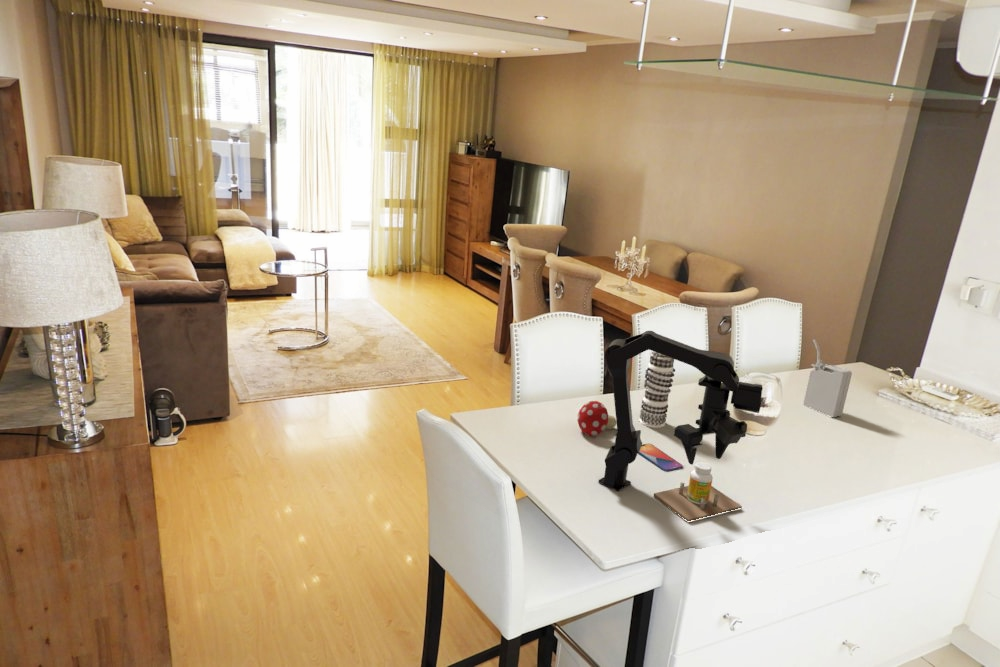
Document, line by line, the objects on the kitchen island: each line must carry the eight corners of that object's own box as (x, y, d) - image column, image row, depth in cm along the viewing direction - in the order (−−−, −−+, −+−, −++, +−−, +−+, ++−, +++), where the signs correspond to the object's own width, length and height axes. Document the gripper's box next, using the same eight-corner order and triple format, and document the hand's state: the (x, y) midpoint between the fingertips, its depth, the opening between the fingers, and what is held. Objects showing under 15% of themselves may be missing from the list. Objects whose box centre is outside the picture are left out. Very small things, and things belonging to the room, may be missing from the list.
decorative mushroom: (618, 399, 214) (589, 391, 204) (633, 427, 207) (604, 421, 197) (594, 418, 219) (565, 412, 209) (608, 447, 213) (578, 441, 203)
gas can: (796, 402, 249) (810, 338, 242) (805, 400, 251) (820, 337, 244) (832, 418, 236) (848, 351, 229) (841, 416, 238) (857, 350, 231)
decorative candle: (669, 429, 215) (681, 356, 208) (640, 427, 215) (651, 354, 208) (663, 418, 224) (674, 347, 217) (635, 415, 224) (646, 345, 217)
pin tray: (687, 523, 162) (690, 508, 161) (653, 496, 173) (655, 483, 172) (741, 509, 170) (744, 495, 169) (705, 485, 181) (707, 472, 180)
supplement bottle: (693, 505, 168) (699, 471, 165) (682, 494, 173) (688, 461, 170) (712, 504, 169) (718, 470, 167) (700, 493, 174) (706, 460, 172)
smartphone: (664, 473, 187) (665, 470, 186) (630, 449, 199) (631, 446, 199) (684, 469, 190) (684, 466, 190) (649, 446, 203) (650, 443, 202)
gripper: (710, 421, 153) (699, 482, 157) (767, 412, 161) (755, 470, 166) (677, 403, 162) (667, 461, 167) (733, 395, 171) (722, 450, 175)
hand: (704, 461), depth 168 cm, fingers open, 9 cm apart
